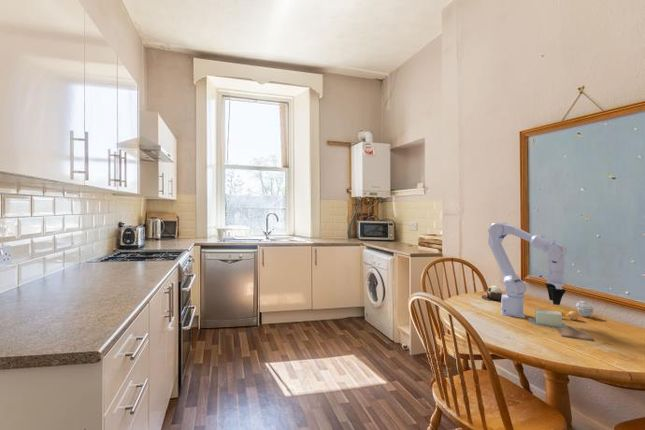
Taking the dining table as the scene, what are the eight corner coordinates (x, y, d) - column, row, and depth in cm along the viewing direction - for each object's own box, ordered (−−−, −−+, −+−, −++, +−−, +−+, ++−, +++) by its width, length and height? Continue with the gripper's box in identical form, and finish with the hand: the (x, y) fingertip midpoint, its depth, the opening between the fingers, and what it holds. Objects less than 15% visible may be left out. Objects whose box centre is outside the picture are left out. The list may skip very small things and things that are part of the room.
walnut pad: (561, 336, 133) (561, 334, 133) (556, 328, 142) (556, 327, 142) (593, 341, 129) (593, 339, 129) (585, 333, 138) (585, 331, 138)
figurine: (582, 312, 151) (551, 303, 156) (580, 326, 150) (548, 316, 155) (576, 312, 159) (546, 304, 163) (573, 325, 158) (543, 316, 162)
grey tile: (530, 324, 147) (530, 324, 147) (527, 318, 156) (527, 317, 156) (570, 330, 141) (570, 329, 141) (564, 323, 150) (564, 322, 150)
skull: (475, 294, 196) (488, 281, 196) (488, 306, 196) (501, 293, 196) (486, 299, 184) (499, 285, 184) (500, 312, 184) (513, 298, 184)
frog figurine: (581, 314, 166) (581, 299, 165) (596, 318, 159) (597, 303, 159) (572, 314, 164) (572, 300, 164) (587, 319, 157) (587, 304, 157)
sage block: (536, 323, 148) (537, 312, 148) (534, 320, 153) (535, 308, 153) (561, 327, 144) (562, 315, 144) (558, 323, 149) (559, 311, 149)
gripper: (571, 275, 140) (569, 308, 141) (562, 269, 154) (561, 299, 154) (551, 273, 143) (549, 305, 143) (544, 268, 156) (542, 297, 157)
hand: (554, 302), depth 149 cm, fingers open, 7 cm apart
